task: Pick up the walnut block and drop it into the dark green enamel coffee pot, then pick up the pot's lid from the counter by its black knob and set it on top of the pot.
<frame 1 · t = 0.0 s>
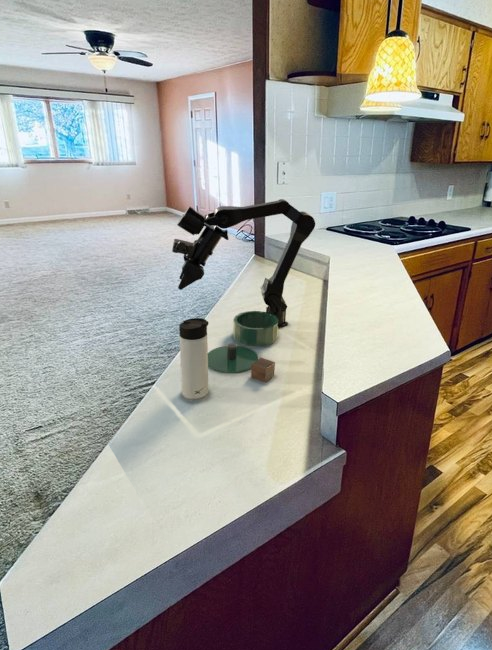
hand: (180, 284, 129), 15 cm above the counter, tool tilted 35°, fingers open, 9 cm apart
pot: (255, 337, 130), on the counter
block: (262, 377, 109), on the counter
travel mug: (196, 395, 100), on the counter
lid: (231, 359, 116), point 1 cm above the counter
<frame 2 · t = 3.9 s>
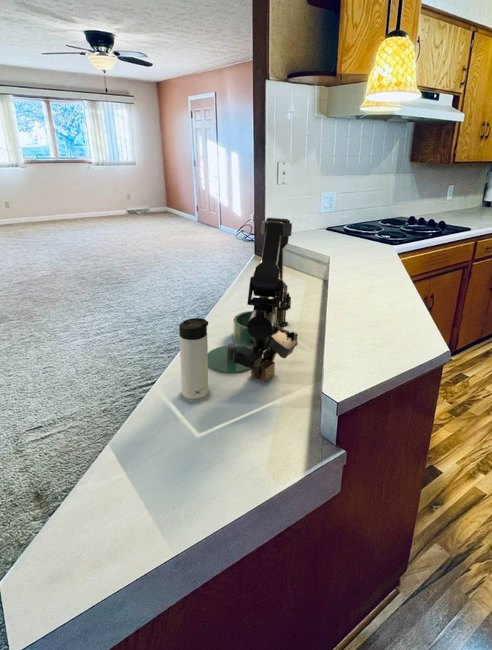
hand: (262, 374, 109), 1 cm above the counter, tool pointing down, fingers closed on block, 4 cm apart
block: (262, 377, 109), on the counter, touching gripper
everything else where it was.
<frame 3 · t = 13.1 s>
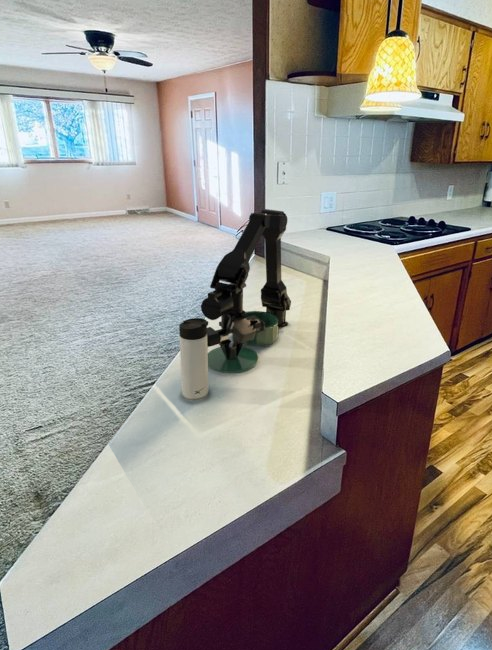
hand: (231, 357, 116), 1 cm above the counter, tool pointing down, fingers closed on lid, 3 cm apart
block: (255, 336, 130), resting on pot
lid: (231, 359, 116), point 1 cm above the counter, touching gripper
everything else where it was.
when the fingers open (7 cm above the counter, at t = 17.6 s): lid stays where it is, resting on pot.
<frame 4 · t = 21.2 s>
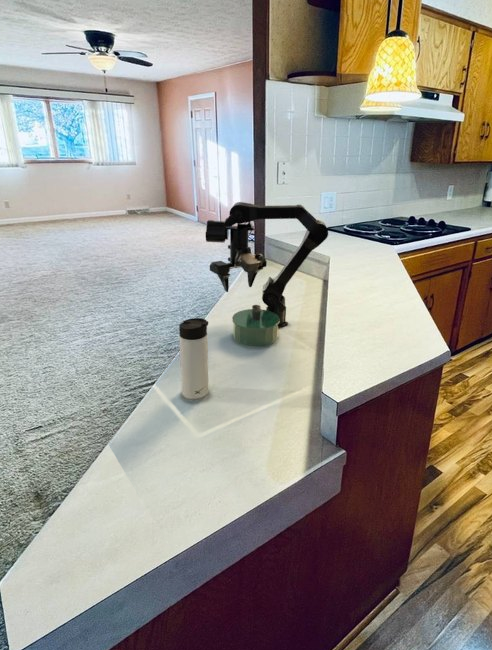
hand: (238, 289, 136), 12 cm above the counter, tool pointing down, fingers open, 9 cm apart
lid: (256, 319, 128), point 6 cm above the counter, touching pot
everything else where it was.
at the end: block inside the target area in the pot (0.0 cm from its centre), point 0.4 cm above the pot's base; lid 0.0 cm off-centre on the pot, point 6.4 cm above the pot's base; lid tilted 0° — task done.
